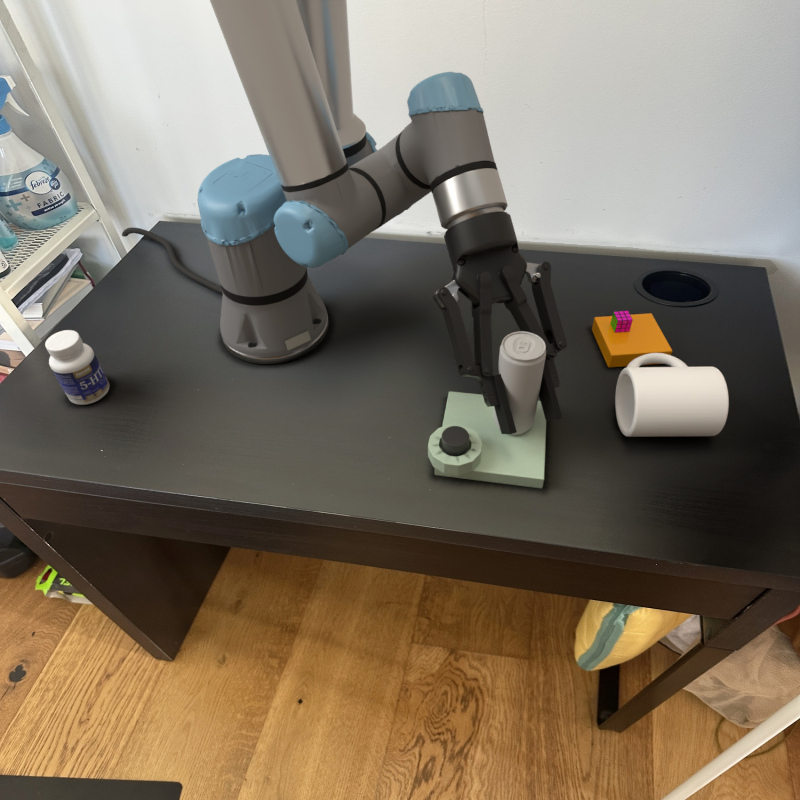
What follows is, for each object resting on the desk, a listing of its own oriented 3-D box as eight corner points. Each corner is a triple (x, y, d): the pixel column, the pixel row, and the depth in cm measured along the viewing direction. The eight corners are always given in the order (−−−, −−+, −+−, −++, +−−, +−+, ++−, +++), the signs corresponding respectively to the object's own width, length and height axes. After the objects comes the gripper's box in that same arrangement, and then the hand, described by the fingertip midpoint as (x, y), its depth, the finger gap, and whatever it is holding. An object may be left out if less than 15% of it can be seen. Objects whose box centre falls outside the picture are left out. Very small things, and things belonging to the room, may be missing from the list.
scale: (425, 480, 70) (424, 461, 68) (441, 399, 79) (441, 379, 77) (541, 495, 68) (546, 476, 66) (545, 410, 77) (548, 390, 75)
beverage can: (537, 412, 75) (550, 335, 66) (529, 441, 72) (542, 364, 63) (497, 403, 76) (505, 326, 67) (488, 432, 73) (495, 355, 64)
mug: (713, 450, 72) (737, 401, 66) (625, 450, 72) (641, 402, 67) (682, 378, 80) (701, 329, 75) (604, 379, 81) (616, 331, 75)
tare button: (439, 454, 69) (439, 444, 68) (443, 434, 71) (443, 424, 70) (467, 458, 68) (467, 447, 67) (470, 437, 70) (470, 427, 69)
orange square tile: (647, 325, 88) (655, 301, 85) (668, 363, 82) (677, 338, 79) (591, 329, 88) (596, 305, 85) (608, 367, 82) (614, 343, 79)
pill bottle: (94, 409, 80) (65, 357, 74) (60, 402, 82) (29, 350, 75) (118, 381, 84) (93, 329, 78) (85, 375, 85) (57, 323, 79)
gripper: (534, 215, 74) (586, 405, 74) (392, 248, 70) (447, 447, 71) (563, 192, 67) (620, 403, 67) (406, 228, 63) (467, 450, 63)
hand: (531, 425), depth 69 cm, fingers closed on beverage can, 5 cm apart
